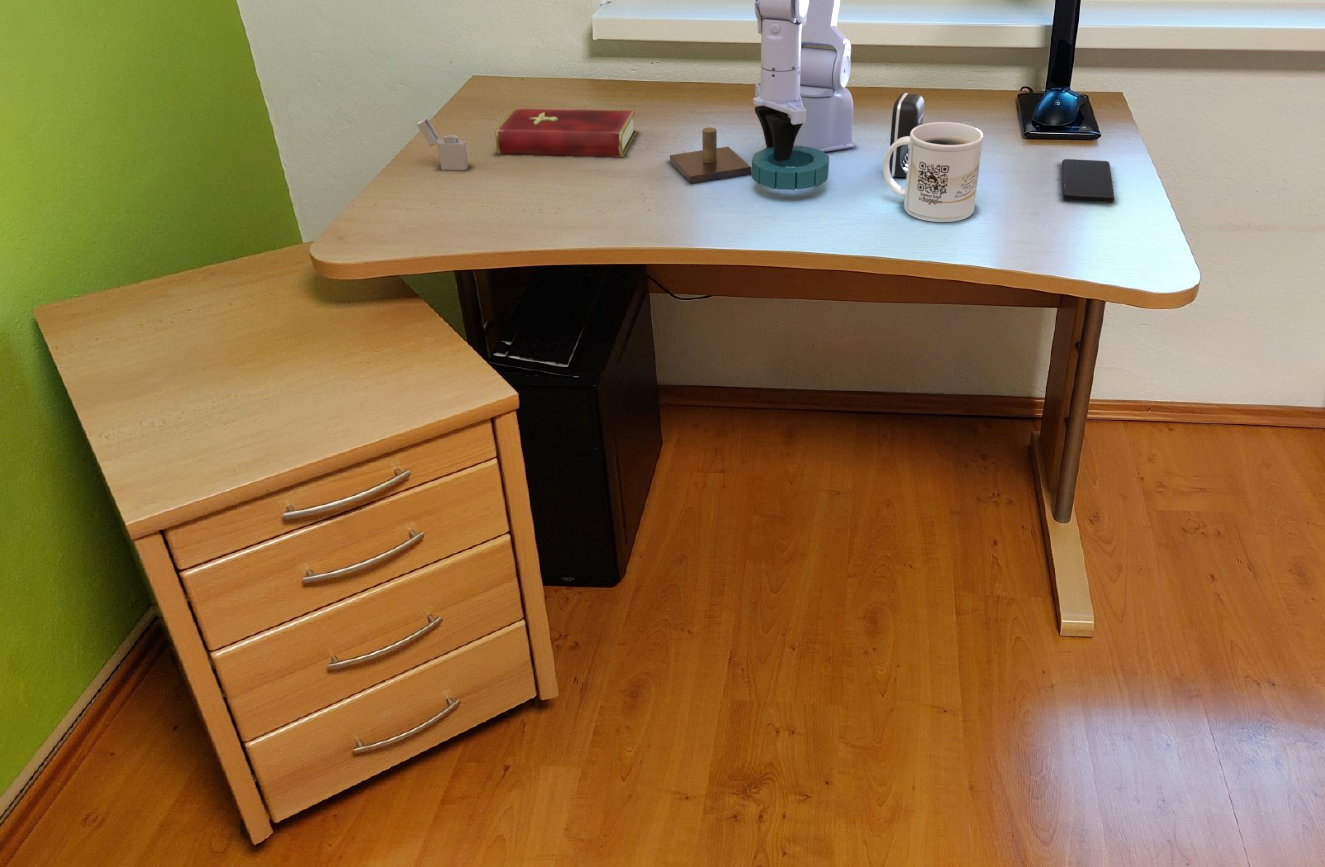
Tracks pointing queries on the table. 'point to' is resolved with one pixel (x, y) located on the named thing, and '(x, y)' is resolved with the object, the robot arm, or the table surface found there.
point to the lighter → (446, 147)
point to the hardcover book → (566, 132)
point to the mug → (939, 171)
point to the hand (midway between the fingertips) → (778, 156)
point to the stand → (710, 161)
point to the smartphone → (1087, 180)
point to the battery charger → (904, 129)
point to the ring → (791, 168)
